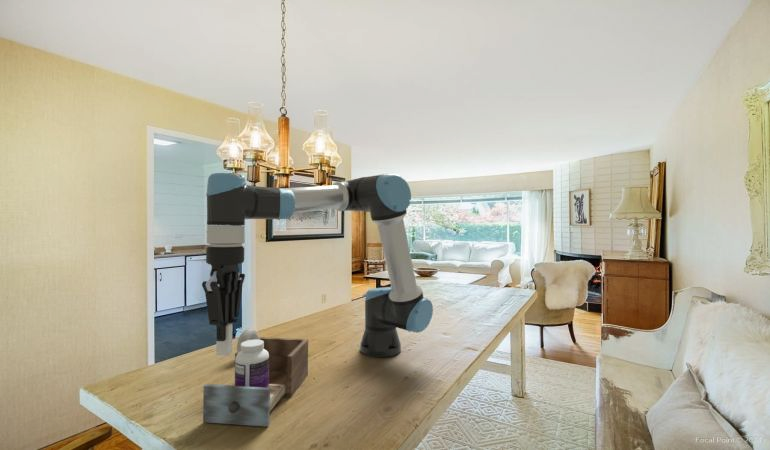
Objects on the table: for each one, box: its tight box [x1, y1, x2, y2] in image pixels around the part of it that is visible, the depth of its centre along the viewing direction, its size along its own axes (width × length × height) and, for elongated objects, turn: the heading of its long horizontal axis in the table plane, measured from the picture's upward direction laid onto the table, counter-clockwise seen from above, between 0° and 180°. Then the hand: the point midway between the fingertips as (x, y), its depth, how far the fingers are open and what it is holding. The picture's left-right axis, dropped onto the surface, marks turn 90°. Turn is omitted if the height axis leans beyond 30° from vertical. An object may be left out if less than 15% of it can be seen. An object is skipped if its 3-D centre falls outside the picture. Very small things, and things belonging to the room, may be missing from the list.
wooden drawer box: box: [234, 336, 309, 398], centre depth 101 cm, size 16×14×11 cm
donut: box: [236, 327, 259, 353], centre depth 121 cm, size 10×3×10 cm, turn 168°
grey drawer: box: [202, 383, 285, 427], centre depth 86 cm, size 16×15×8 cm
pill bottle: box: [234, 339, 269, 388], centre depth 88 cm, size 8×8×14 cm
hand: (224, 354), depth 75 cm, fingers closed
